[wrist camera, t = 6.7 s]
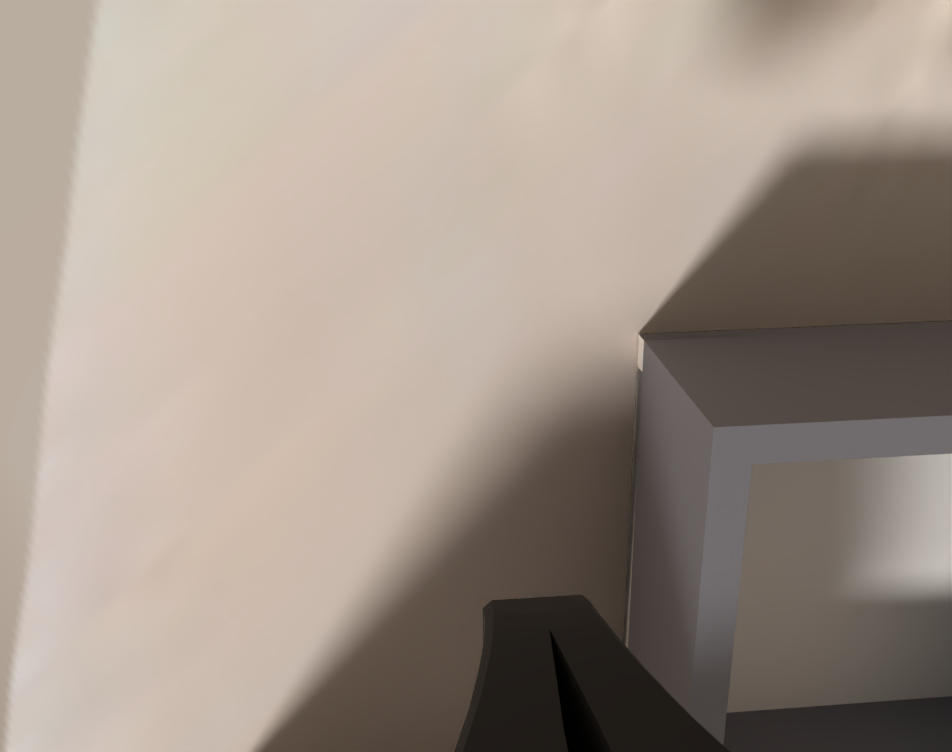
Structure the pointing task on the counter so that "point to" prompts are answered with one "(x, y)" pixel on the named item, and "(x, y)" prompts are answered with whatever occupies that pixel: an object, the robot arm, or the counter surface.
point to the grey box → (796, 534)
